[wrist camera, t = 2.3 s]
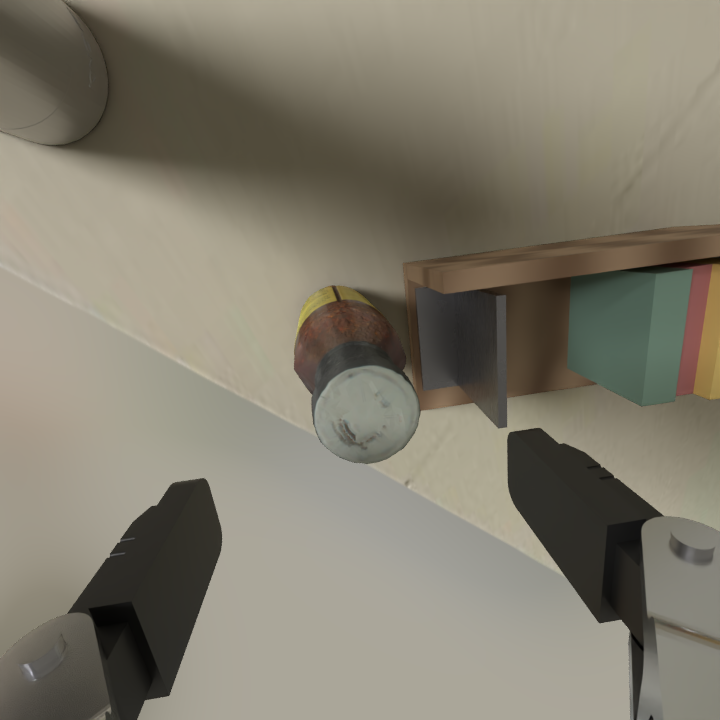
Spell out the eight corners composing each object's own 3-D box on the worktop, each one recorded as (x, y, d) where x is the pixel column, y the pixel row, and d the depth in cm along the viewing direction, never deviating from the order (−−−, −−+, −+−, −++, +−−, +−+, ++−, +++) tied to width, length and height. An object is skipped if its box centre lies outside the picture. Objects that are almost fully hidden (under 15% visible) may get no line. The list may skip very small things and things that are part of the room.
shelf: (415, 404, 36) (454, 474, 25) (402, 263, 32) (442, 272, 21) (658, 367, 37) (800, 420, 26) (675, 226, 33) (850, 217, 22)
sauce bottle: (304, 356, 33) (273, 502, 14) (297, 285, 31) (251, 344, 13) (377, 351, 34) (441, 486, 15) (374, 280, 32) (444, 331, 13)
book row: (567, 368, 34) (647, 409, 25) (571, 266, 31) (663, 274, 23) (662, 354, 34) (772, 390, 26) (674, 252, 32) (802, 255, 23)
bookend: (422, 389, 34) (452, 435, 25) (414, 288, 31) (445, 303, 23) (463, 383, 34) (507, 427, 26) (459, 282, 31) (506, 294, 23)
